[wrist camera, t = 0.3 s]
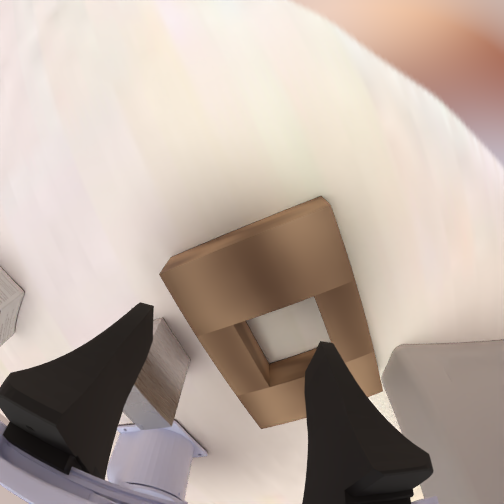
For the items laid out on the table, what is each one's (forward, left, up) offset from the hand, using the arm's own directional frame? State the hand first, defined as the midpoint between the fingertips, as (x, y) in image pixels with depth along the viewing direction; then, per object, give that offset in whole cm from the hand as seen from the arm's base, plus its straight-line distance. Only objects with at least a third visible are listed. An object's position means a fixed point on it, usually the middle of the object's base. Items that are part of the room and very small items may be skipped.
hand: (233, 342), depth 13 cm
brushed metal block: (-10, -5, -11) cm, 16 cm away
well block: (+1, -7, -11) cm, 13 cm away
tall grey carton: (+14, -25, -11) cm, 31 cm away
